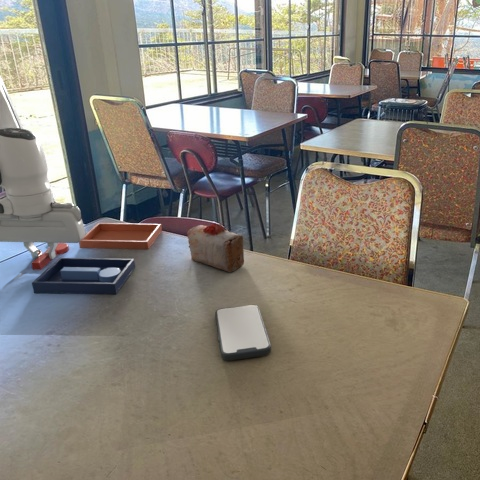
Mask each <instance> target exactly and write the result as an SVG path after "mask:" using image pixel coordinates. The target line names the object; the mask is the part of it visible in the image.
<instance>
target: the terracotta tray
mask: <svg viewBox="0 0 480 480" xmlns="http://www.w3.org/2000/svg"><path fill="white" fill-rule="evenodd" d="M162 232H163V228H162V223H132V222H131V223H130V222H128V223H127V222H126V223H124V222H97V223H96V224H95V225H94V226H93V227H92V228H91V229H90V230H89V231H87V232H86V235H85V237H84V238H83V239H82V240H81V241H80V242H79V243H78V245H79V248H80V249H112V250H117V249H119V250H149V249H150V248H151V247H152V245H153V244H154V242H155V241H156V240H157V238H158V237H159V236H160V234H161V233H162Z"/></svg>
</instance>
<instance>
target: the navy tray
mask: <svg viewBox="0 0 480 480" xmlns="http://www.w3.org/2000/svg"><path fill="white" fill-rule="evenodd" d="M64 267H85V268H100V270H103V269H106V268H118V269H120V270H121V273H120V274H119V276H118V277H117V278H116V279H115V281H114V282H113V283H102V282H100V281H99V280H63V279H62V277H61V272H60V271H61V270H62V269H63V268H64ZM134 269H136V263H135V258H106V257H105V258H103V257H59V258H57V259H56V260H55V261H54V262H53V263H52V264H51V265H50V266H49V267H48V268H46V269H45V270H44V271H43V272H42V273H41V274H40V275H38V276H37V277H36V278H35V279H34V280H33V281H32V282H31V286H32V290H33V293H34V294H67V295H68V294H71V295H72V294H73V295H75V294H77V295H117V294H118V293H119V292H120V290H121V289H122V287H123V286H124V284H125V283H126V282H127V281H128V279H129V278H130V276H131V273H132V272H133V271H134Z"/></svg>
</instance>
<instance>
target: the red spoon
mask: <svg viewBox="0 0 480 480" xmlns="http://www.w3.org/2000/svg"><path fill="white" fill-rule="evenodd" d="M49 249H50V246H48V249H46V250H45V251H44V252H42V255H40V256H39V257H38V258H37V259H33V261H32V262H31V267H32V270H33V271H40V270H43V269H44V268H45V267H46V266H47V265H48V264H49V263H51V262H52V261H53V260H54V259H46V256H45V252H47V251H48V250H49ZM69 250H70V248H69V243H58V245H57V247H56V249H55V254H56V257H57V256H58V255H64V254H66V253H68V252H69Z"/></svg>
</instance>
